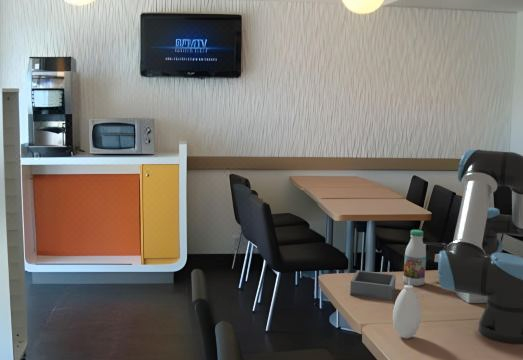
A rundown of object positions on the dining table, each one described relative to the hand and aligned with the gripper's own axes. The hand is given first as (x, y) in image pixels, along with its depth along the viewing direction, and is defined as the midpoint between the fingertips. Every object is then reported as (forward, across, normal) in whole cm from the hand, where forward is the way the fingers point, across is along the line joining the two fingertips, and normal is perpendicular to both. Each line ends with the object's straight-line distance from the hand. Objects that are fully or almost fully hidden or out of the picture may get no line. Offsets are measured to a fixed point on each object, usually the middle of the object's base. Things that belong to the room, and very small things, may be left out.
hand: (423, 253), depth 221 cm
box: (+24, -4, -11) cm, 27 cm away
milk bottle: (+4, 0, -11) cm, 12 cm away
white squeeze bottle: (+38, -41, -11) cm, 57 cm away
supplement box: (-5, -22, -11) cm, 25 cm away
